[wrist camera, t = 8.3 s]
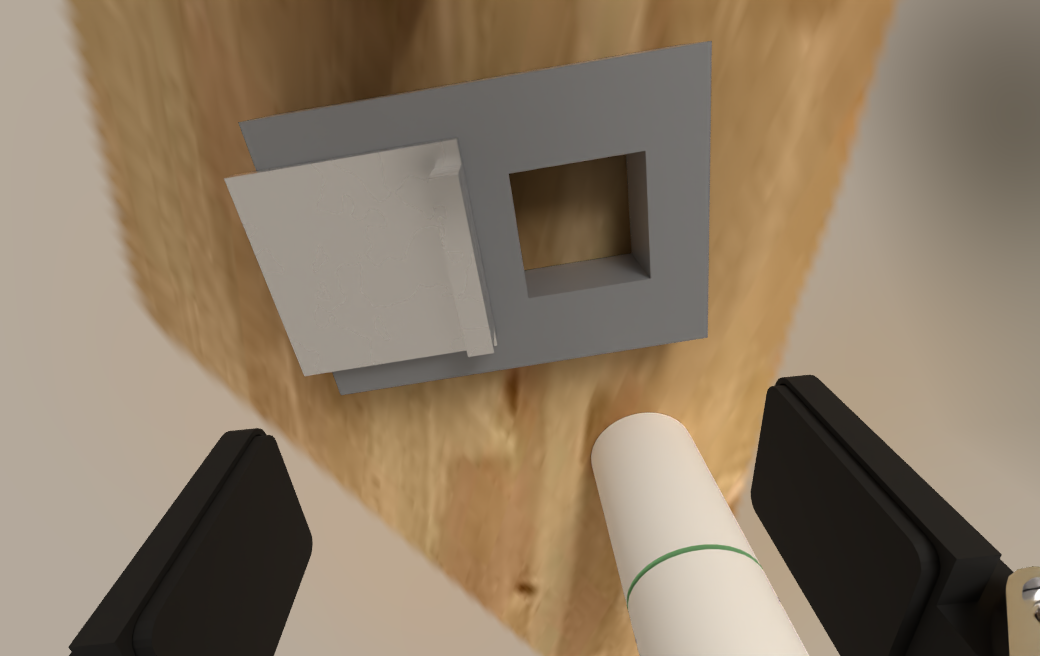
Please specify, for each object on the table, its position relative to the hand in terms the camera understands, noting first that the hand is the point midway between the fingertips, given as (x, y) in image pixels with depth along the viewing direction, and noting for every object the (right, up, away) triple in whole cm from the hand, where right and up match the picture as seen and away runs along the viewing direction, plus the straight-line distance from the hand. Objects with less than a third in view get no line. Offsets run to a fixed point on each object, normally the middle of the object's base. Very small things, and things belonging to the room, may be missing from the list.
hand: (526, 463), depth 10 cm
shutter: (-7, +6, +15) cm, 17 cm away
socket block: (-1, +9, +18) cm, 20 cm away
